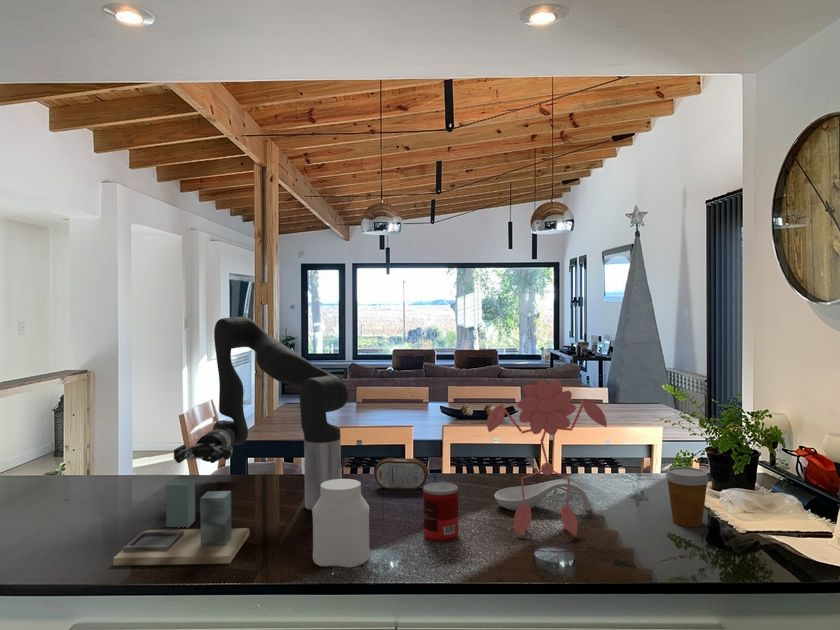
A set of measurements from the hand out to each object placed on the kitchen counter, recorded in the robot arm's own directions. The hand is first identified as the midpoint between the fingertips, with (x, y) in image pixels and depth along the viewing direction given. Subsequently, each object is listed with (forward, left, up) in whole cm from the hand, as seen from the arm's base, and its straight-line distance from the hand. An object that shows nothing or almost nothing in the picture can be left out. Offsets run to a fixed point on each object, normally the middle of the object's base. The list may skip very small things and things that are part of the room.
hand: (195, 459), depth 161 cm
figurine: (-84, +25, -13) cm, 89 cm away
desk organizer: (-7, +27, -13) cm, 31 cm away
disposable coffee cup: (-119, +16, -13) cm, 121 cm away
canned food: (-61, +22, -13) cm, 66 cm away
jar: (-40, +33, -13) cm, 54 cm away
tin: (-52, -16, -13) cm, 56 cm away
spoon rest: (-88, +4, -13) cm, 89 cm away
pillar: (0, +11, -13) cm, 17 cm away
